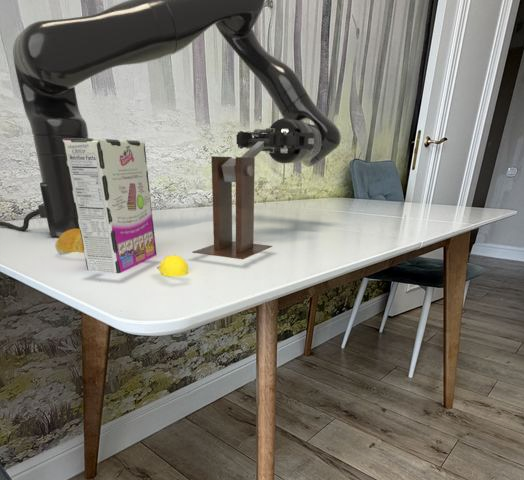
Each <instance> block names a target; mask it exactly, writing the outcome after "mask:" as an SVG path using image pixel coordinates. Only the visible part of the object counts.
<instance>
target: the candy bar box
mask: <svg viewBox="0 0 524 480" xmlns="http://www.w3.org/2000/svg"><path fill="white" fill-rule="evenodd" d="M63 144H64V149H65V155H66V159H67V165H68V170H69V175H70V181H71V186H72V192H73V196H74V202H75V206H76V212H77V217H78V223H79V228H80V233H81V238H82V244H83V249H84V253H83V254H84V259H85V265H86V269H87V271H88V272H89V271H90V272H99V273H111V274H120V273H123V272H126V271H128V270H129V269H132V268H133V267H136V266H138V265H140V264H141V263H144V262H146V261H148V260H150V259H152V258H154V257H155V256H157V246H156V236H155V229H154V228H155V227H154V220H153V209H152V201H151V191H150V190H151V189H150V181H149V173H148V171H149V170H148V163H147V162H148V161H147V154H146V153H147V152H146V142H145V141H143V140H129V139H111V138H89V137H88V138H70V139H63Z"/></svg>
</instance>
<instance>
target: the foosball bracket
mask: <svg viewBox="0 0 524 480" xmlns="http://www.w3.org/2000/svg"><path fill="white" fill-rule="evenodd" d="M210 158H211V159H210V161H211V189H212V191H211V193H212V222H213V223H212V225H213V229H212V230H213V244H212V245H209V246H206V247H203V248H199V249H196V250H194V251H192V252H191V253H192V254H200V255H206V256H213V257H214V256H215V257H220V258H221V257H222V258H223V257H224V258H229V259H237V260H245V259H247V258H250V257H252V256H254V255H257V254H259V253H261V252H263V251H266V250H269V249H270V248H272V247H273V245H269V244H261V243H254V239H255V238H254V229H255V227H254V226H255V172H256V171H255V167H256V165H255V164H256V163H255V161H256V158H255V157H254V158H251V157H242V156H236V157H235V159H236V182H235V240H233V182H225V181H224V176H223V171H222V165H223V164H224V163H225V162H226V161H228V160H229V159H230V158H232V156H211V157H210Z"/></svg>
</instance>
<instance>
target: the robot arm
mask: <svg viewBox="0 0 524 480" xmlns="http://www.w3.org/2000/svg"><path fill="white" fill-rule="evenodd" d="M265 2H266V0H126V1H125V0H124V1H122V2H119V3H117V4H115V5H113V6H110V7H109V8H106V9H105V10H102V11H100V12H98V13H94V14H90V15H83V16H77V17H70V18H60V19H48V20H39V21H35V22H33V23H30V24H28V25H27V26H26V27H25V28H24V29H23V30H22V31H21V32H20V33H19V34H18V35H17V36H16V38H15V40H14V42H13V46H12V57H13V58H12V59H13V62H14V63H13V64H14V65H13V66H14V70H15V74H16V79H17V83H18V87H19V92H20V96H21V100H22V104H23V105H22V106H23V109H24V113H25V115H26V118H27V120H28V123H29V126H30V129H31V134H32V138H33V143H34V147H35V152H36V157H37V163H38V168H39V172H40V177H41V182H40V183H39V189H40V192H41V193H40V194H41V197H42V202H43V203H41V204H38V205H37V209H34V210H33V211H30V212H28V213H27V214H26V215H25V217H24V219H23V224H22V226H17V225H15V224H12V223H10V222H6V221H0V227H6V228H8V229H11V230H14V231H18V232H25V231H27V230H28V229H29V227H30V220H31V219H33V218H34V217H38V216H39V218H41V219H46V220H47V225H48V226H47V227H48V232H49V235H50V237H56V238H57V237H58V238H59V237H60V236H61V235H62V234H63V233H64V232H66V231H67V230H71V229H80V228H79V223H78V217H77V212H76V206H75V202H74V196H73V192H72V186H71V181H70V175H69V170H68V165H67V159H66V155H65V149H64V144H63V139H70V138H89V131H88V125H87V122H86V120H85V118H84V117H83V116H82V114H81V111H80V108H79V105H78V99H77V92H76V86H78V85H79V84H80V83H83V82H85V81H87V80H88V79H90V78H92V77H94V76H97V75H98V74H101V73H103V72H105V71H107V70H110V69H112V68H115V67H120V66H130V65H131V66H132V65H140V64H147V63H151V62H155V61H159V60H161V59H165V58H168V57H170V56H173V55H175V54H177V53H180V52H182V51H183V50H184V49H186V48H187V47H188V46H189V45H191V44H192V43H193V42H195V41H196V40H197V39H198V38H199V37H200V36H201V35H202V34H203V33H205V32H206V31H207V30H208V29H210V27H212V26H214V25H215V27H216V29H217V30H218V32H219V34H220V35H221V36H222V37H223V39H224V40H225V42H227V44H228V45H229V46H230V47H231V49H232V50H233V51H234V52H235V54H237V56H238V57H239V58H240V59H241V61H242V62H243V63H244V65H245V66H246V67H247V68H248V69H249V70H250V71H251V72H252V74H253V75H254V76H255V77H256V78H257V80H258V81H259V82H260V84H261V85H262V87H263V88H264V89H265V90H266V93H267V94H268V95H269V97H270V98H271V100H272V102H273V104H274V105H275V107H276V108H277V110H278V112H279V114H280V116H282V117H281V118H279V119H277V120H275V121H274V122H273V123H272V124H271V125H270V126H269V128H265V129H263V128H256V129H253V131H251V130H247V131H243V130H239V131H237V134H236V145H237V148H238V149H241V150H242V149H243V148H244V149H245V148H246V150H249V149H250V148H249V147H248V139H269V147H270V148H264V149H263V150H262V151H261V152H264V153H266V154H269V156H270V157H271V159H273V160H274V161H275V162H277V163H279V164H295V163H296V164H297V163H302V165H304V166H305V167H308V168H311V167H313V166H315V165H317V164H318V163H319V162H321V161H322V160H323V159H324V158H326V157H327V156H328V155H329V154H331V153H332V152H334V151H335V150H336V149H338V147H339V146H340V144H341V138H342V137H341V132H340V129H339V127H338V126H337V125H336V124H335V122H333V121H332V120H331V119H330V118H329V117H328V116H326V115H325V114H324V112H323V111H321V110H320V109H319V107H318V106H317V105H316V104H315V103H314V101H313V100H312V98H311V97H310V95H309V93H308V91H307V89H306V88H305V86H304V84H303V83H302V81H301V79H300V78H299V77H298V75H297V74H296V72H295V71H294V70H293V69H292V68H291V67H290V66H289V65H287V64H286V63H284V62H282V61H281V60H280V59H278V58H276V57H275V56H273V55H272V54H270V53H269V52H268V51H266V49H265V48H264V47H263V45H261V42H260V41H259V39H258V38H257V35H256V34H255V33H256V32H255V31H254V26H255V25H256V23H257V21H258V19H259V17H260V15H261V13H262V11H263V9H264V5H265ZM307 120H309V121H311V122H312V123H313V124H311V123H307V122H305V121H307ZM272 148H276V149H272Z"/></svg>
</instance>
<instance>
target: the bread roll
mask: <svg viewBox="0 0 524 480" xmlns="http://www.w3.org/2000/svg"><path fill="white" fill-rule="evenodd" d="M54 248H55V250H56V252H57V253H58V254H59V255H65V254H69V253H81V254H84V249H83V244H82V238H81V233H80V229H71V230H67V231H66V232H64V233H63V234H62V235H61V236H60V237H58V238H57V240H56V241H55V243H54Z"/></svg>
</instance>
